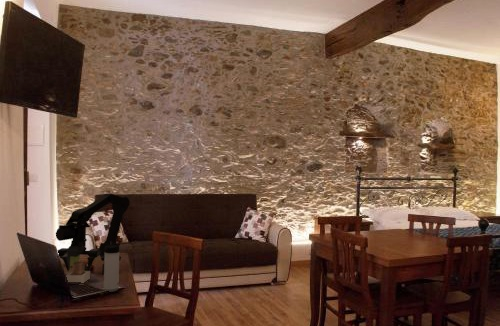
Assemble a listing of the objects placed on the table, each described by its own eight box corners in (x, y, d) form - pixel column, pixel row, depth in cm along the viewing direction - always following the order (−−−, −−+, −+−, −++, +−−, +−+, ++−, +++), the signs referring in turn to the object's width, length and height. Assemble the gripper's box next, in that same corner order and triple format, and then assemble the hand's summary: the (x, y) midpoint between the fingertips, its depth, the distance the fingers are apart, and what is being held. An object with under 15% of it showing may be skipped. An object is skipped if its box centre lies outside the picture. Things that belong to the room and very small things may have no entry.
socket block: (89, 279, 198) (90, 271, 198) (83, 284, 190) (83, 275, 190) (73, 279, 198) (73, 270, 198) (65, 284, 190) (66, 275, 190)
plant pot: (58, 266, 221) (59, 250, 221) (71, 262, 230) (71, 247, 230) (73, 268, 218) (73, 251, 218) (85, 264, 227) (85, 248, 227)
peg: (84, 280, 196) (84, 261, 196) (80, 283, 192) (81, 263, 192) (75, 280, 196) (76, 261, 196) (72, 283, 192) (72, 263, 192)
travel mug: (121, 289, 184) (123, 244, 184) (107, 292, 179) (109, 246, 179) (114, 286, 188) (115, 242, 188) (100, 289, 183) (102, 244, 183)
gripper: (51, 240, 186) (50, 275, 186) (93, 241, 186) (92, 276, 186) (62, 236, 197) (61, 269, 197) (101, 236, 197) (100, 269, 197)
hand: (78, 271), depth 194 cm, fingers open, 9 cm apart
